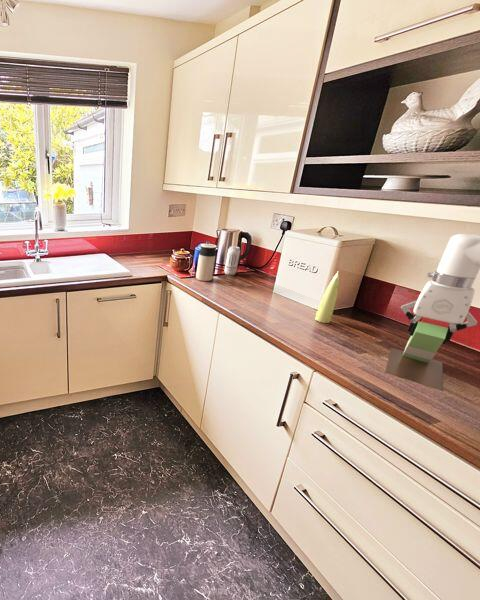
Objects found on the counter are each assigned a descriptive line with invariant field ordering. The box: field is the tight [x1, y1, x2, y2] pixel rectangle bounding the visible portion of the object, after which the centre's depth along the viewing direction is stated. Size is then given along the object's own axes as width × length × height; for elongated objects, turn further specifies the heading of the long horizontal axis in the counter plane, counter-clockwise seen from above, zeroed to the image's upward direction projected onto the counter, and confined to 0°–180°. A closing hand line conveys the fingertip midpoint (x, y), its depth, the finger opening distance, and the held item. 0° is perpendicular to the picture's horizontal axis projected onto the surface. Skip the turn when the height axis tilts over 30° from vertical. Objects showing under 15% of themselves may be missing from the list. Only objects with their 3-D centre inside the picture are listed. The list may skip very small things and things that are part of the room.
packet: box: [403, 320, 448, 363], centre depth 100 cm, size 6×14×4 cm
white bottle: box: [224, 245, 241, 276], centre depth 182 cm, size 6×6×15 cm
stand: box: [384, 347, 444, 392], centre depth 100 cm, size 12×20×1 cm, turn 135°
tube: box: [314, 271, 340, 324], centre depth 127 cm, size 6×5×20 cm
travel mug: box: [195, 243, 217, 282], centre depth 173 cm, size 8×8×18 cm
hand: (426, 337), depth 99 cm, fingers closed on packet, 6 cm apart
